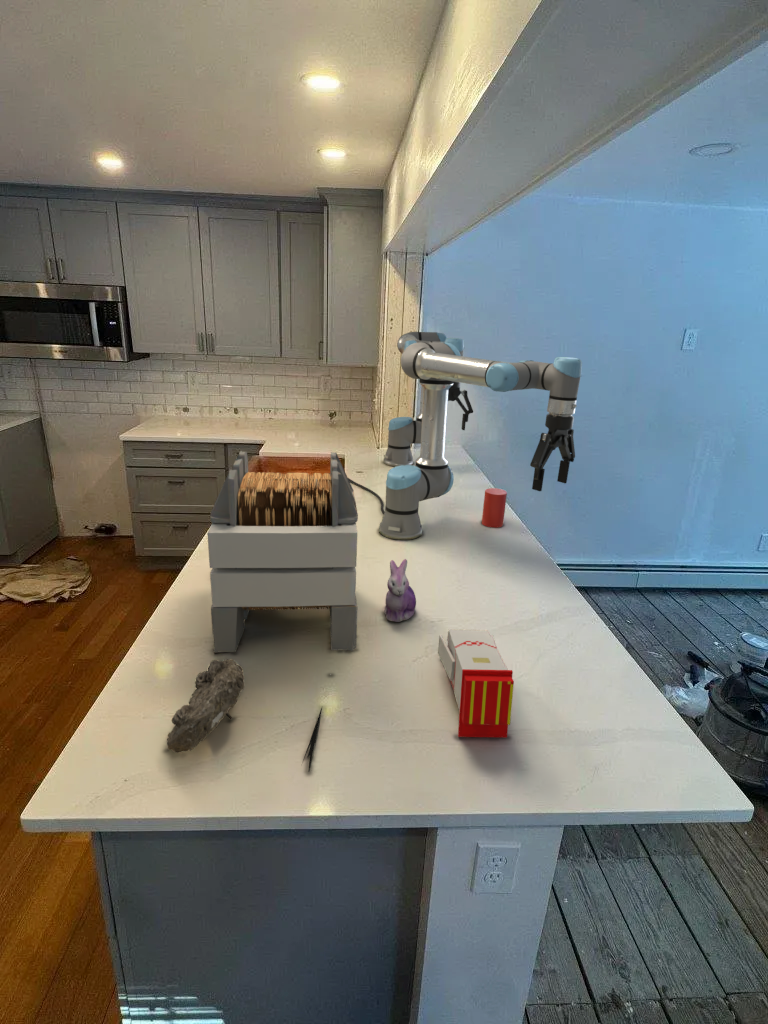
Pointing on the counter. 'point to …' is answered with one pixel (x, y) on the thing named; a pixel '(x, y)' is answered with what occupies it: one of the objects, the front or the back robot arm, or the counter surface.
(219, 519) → the grey record crate stand
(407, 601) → the figurine
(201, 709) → the grey rough elongated piece
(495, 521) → the cylinder
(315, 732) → the feather
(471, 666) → the toy
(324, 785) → the counter surface
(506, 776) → the counter surface
